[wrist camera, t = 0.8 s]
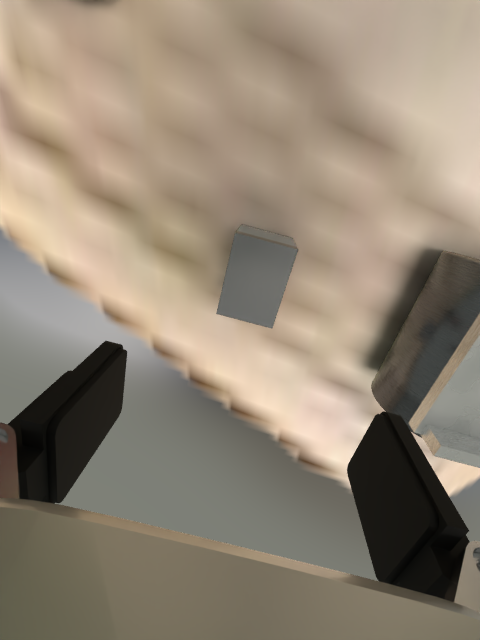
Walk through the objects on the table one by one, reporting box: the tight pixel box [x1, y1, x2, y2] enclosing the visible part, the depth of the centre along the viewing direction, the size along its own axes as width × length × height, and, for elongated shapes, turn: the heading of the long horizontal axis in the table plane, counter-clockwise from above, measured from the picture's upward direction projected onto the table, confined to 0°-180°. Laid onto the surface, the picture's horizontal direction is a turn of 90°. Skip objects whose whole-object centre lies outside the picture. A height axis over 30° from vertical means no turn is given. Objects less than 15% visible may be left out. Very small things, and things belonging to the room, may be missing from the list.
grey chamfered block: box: [216, 225, 298, 328], centre depth 27 cm, size 7×5×6 cm
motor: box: [371, 251, 480, 468], centre depth 24 cm, size 14×10×13 cm
